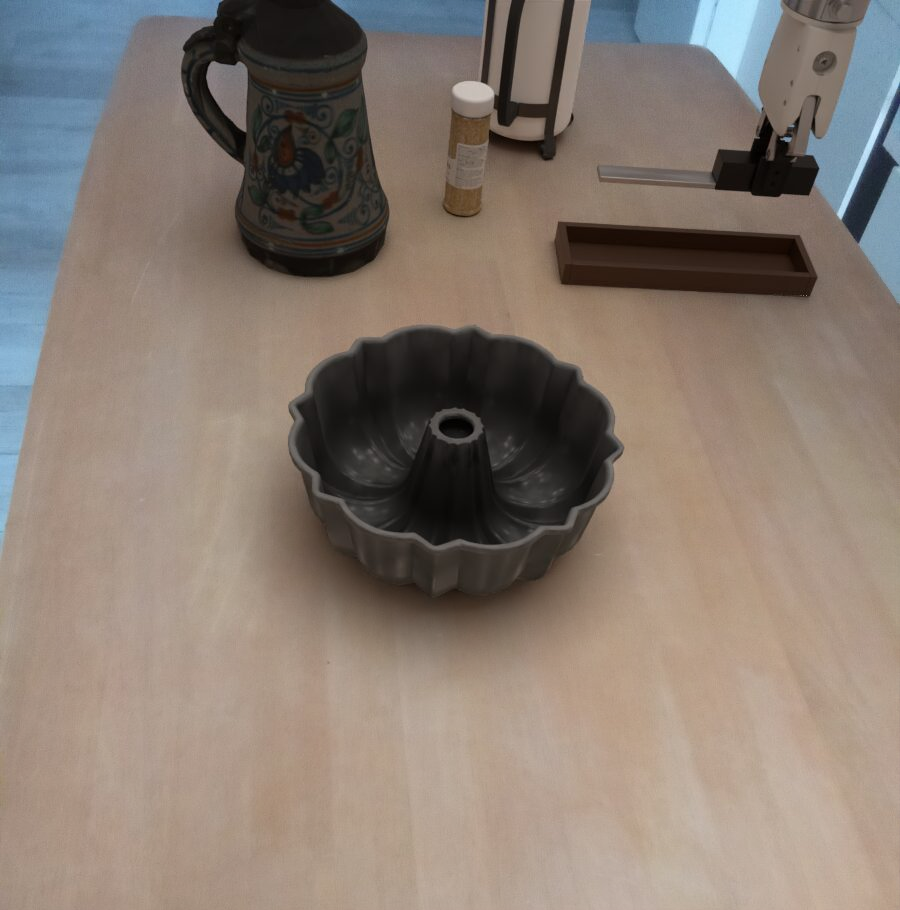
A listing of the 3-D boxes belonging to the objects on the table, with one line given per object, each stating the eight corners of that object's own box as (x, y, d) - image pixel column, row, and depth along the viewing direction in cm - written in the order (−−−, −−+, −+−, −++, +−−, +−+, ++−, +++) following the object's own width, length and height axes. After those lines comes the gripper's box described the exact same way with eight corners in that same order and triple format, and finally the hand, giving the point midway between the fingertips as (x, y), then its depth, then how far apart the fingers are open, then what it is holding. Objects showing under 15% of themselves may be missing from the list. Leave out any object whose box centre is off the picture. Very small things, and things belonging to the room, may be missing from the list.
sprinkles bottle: (444, 194, 119) (453, 76, 108) (483, 198, 119) (496, 81, 108) (441, 215, 116) (450, 97, 106) (480, 220, 116) (493, 102, 106)
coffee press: (436, 111, 131) (455, -171, 107) (547, 97, 136) (588, -177, 112) (491, 181, 121) (525, -112, 98) (608, 163, 126) (667, -121, 103)
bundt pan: (269, 426, 92) (261, 336, 85) (542, 393, 98) (559, 305, 90) (324, 661, 77) (321, 577, 69) (644, 604, 83) (675, 521, 75)
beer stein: (412, 262, 110) (426, 15, 90) (238, 298, 104) (212, 41, 84) (354, 184, 119) (355, -57, 99) (191, 213, 112) (157, -38, 93)
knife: (803, 182, 107) (813, 155, 104) (809, 196, 105) (819, 168, 103) (596, 169, 105) (602, 141, 103) (599, 182, 103) (605, 154, 101)
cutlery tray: (792, 254, 117) (800, 234, 115) (809, 296, 112) (818, 277, 110) (554, 241, 115) (557, 221, 113) (561, 284, 110) (565, 263, 108)
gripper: (894, 38, 86) (815, 232, 101) (843, -39, 96) (778, 148, 111) (808, 31, 86) (741, 228, 100) (766, -46, 96) (711, 143, 110)
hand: (761, 184), depth 105 cm, fingers closed on knife, 2 cm apart
